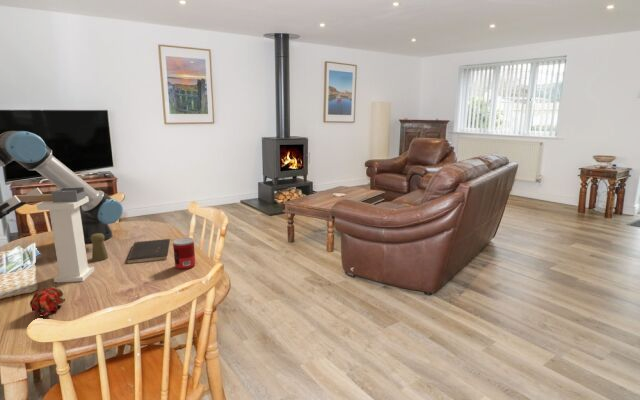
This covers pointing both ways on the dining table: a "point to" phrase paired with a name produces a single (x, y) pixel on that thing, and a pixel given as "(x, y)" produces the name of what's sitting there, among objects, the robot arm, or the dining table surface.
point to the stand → (68, 239)
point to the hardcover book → (149, 251)
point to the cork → (98, 247)
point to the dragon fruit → (47, 301)
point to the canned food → (184, 253)
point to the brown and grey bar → (56, 195)
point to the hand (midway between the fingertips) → (29, 194)
